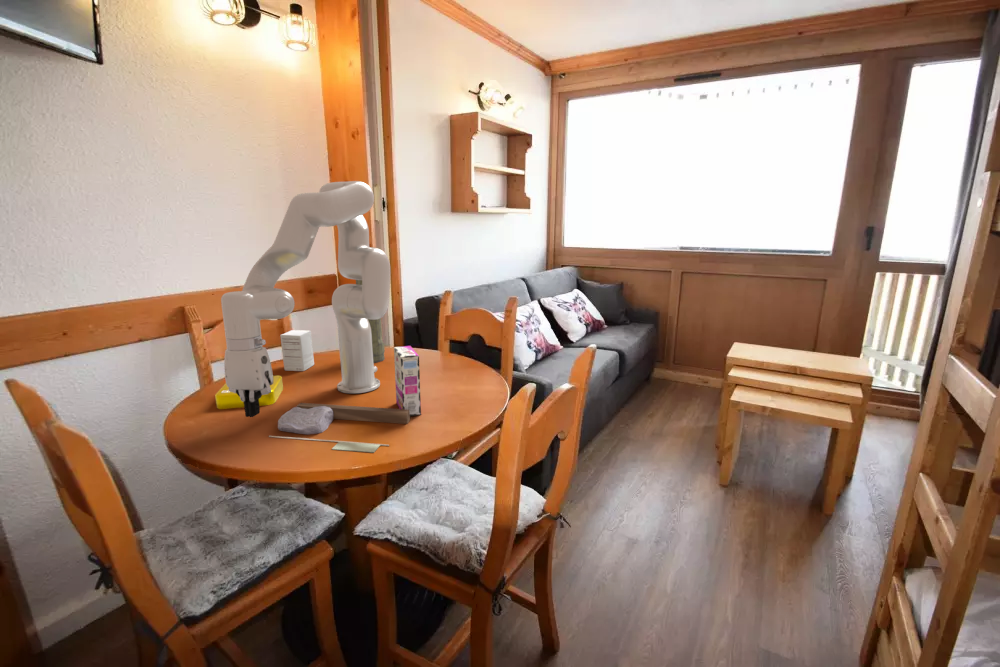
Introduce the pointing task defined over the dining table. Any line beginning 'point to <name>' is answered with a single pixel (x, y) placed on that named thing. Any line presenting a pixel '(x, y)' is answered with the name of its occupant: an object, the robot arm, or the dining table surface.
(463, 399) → the dining table surface
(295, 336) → the supplement box
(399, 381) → the candy bar box
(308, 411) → the stone block
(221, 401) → the element tile
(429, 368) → the dining table surface
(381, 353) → the thermos
